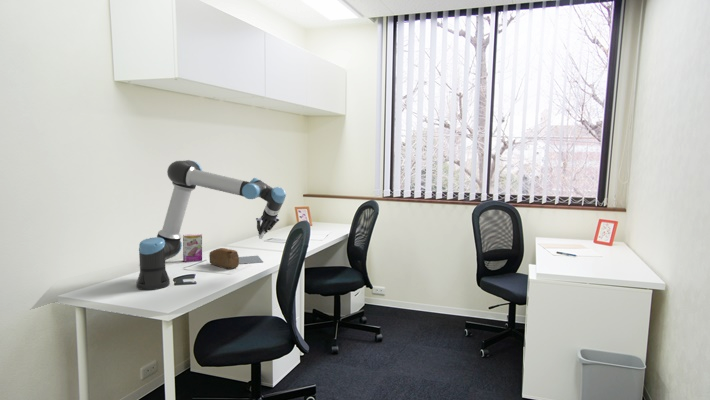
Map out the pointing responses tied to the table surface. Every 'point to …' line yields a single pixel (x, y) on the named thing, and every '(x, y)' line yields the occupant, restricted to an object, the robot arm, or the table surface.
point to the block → (224, 258)
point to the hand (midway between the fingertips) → (260, 236)
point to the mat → (250, 259)
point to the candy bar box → (192, 247)
